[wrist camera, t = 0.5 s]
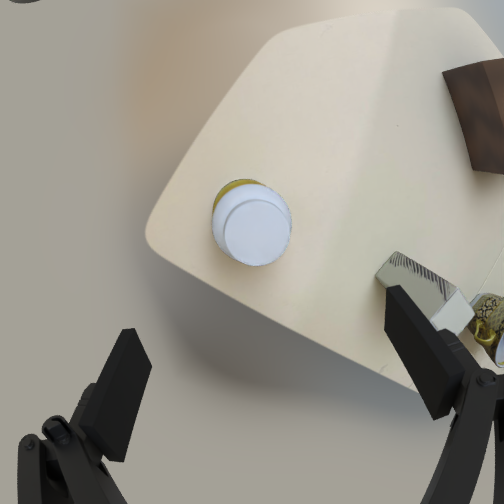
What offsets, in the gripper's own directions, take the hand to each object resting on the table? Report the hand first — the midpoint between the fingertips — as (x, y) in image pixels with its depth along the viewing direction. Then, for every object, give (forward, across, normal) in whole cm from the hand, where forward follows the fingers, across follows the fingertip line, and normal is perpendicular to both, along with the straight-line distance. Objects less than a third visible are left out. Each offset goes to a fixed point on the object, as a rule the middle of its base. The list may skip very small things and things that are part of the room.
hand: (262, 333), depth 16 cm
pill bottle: (+20, -1, +1) cm, 20 cm away
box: (+20, +16, -10) cm, 28 cm away
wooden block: (+24, +35, +9) cm, 44 cm away
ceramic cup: (+21, +32, -21) cm, 44 cm away
